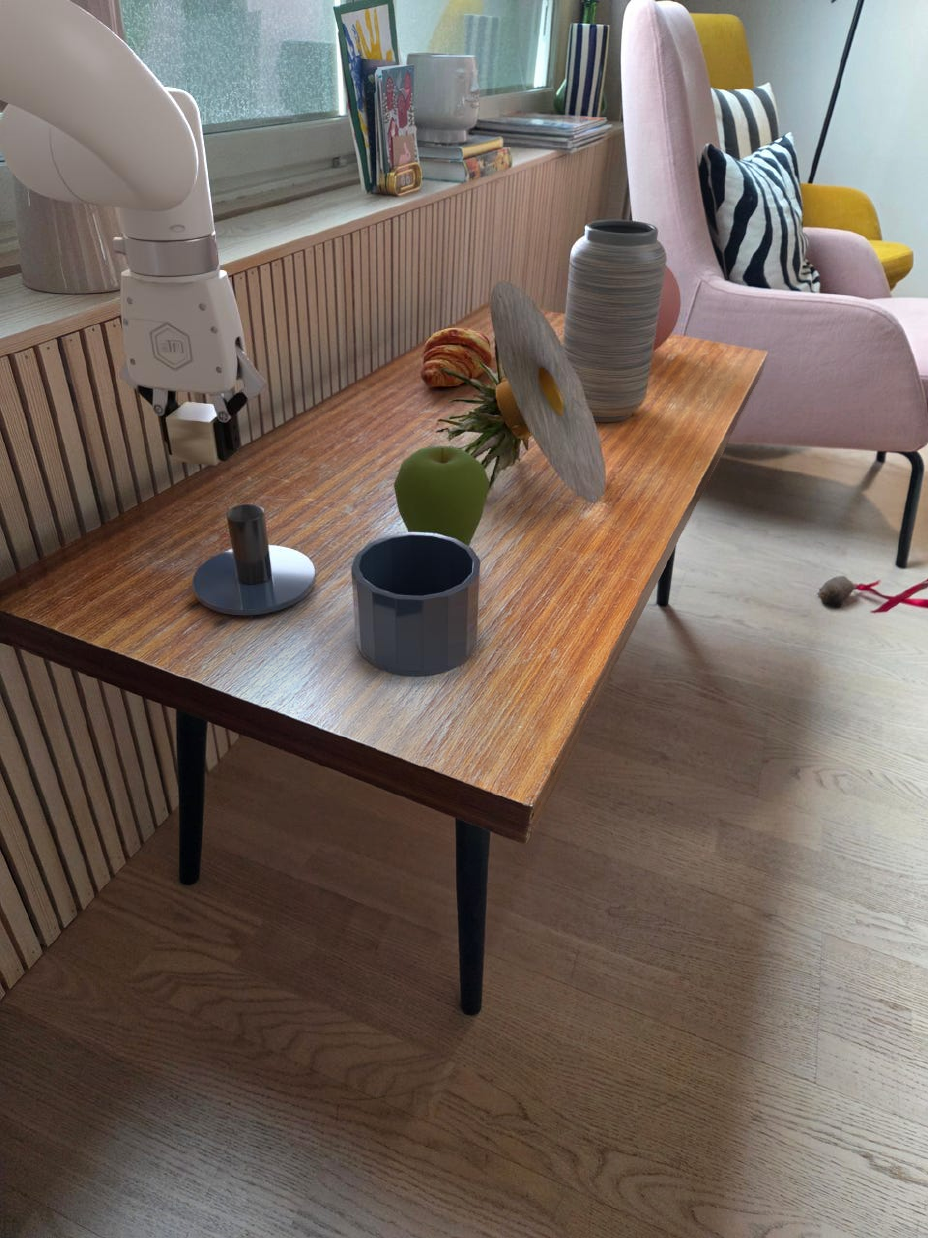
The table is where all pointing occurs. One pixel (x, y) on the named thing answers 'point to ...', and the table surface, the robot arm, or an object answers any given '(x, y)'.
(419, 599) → the pot
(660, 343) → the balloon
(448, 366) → the croissant
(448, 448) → the apple
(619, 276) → the vase
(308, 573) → the lid
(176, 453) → the block
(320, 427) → the table surface
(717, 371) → the table surface
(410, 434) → the table surface
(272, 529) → the table surface
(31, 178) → the robot arm
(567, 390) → the grey leafy disc
